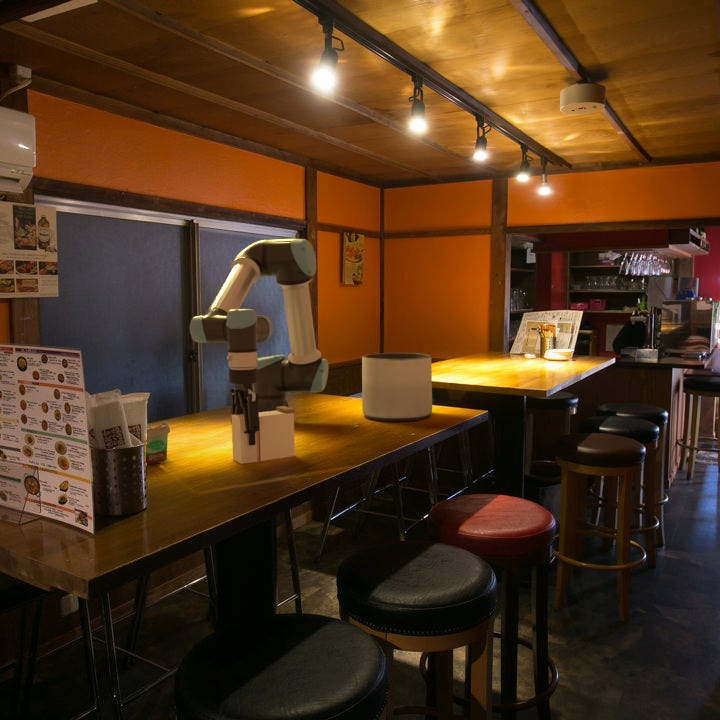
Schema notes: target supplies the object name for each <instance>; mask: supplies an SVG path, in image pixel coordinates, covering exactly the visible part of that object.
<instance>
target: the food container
mask: <svg viewBox="0 0 720 720" xmlns="http://www.w3.org/2000/svg"><path fill="white" fill-rule="evenodd" d="M146 427H147V444H146V463H147V466H146V467H151V466H152V467H153V466H159V465H161V463H160V462H163V461H165V460H167V458H168V457H167V455H168V439H169V437H168V436H169V435H168V434H169V433H171V428H170V425H169V423H168V422H165V421H162V423H161V425H157V426H146Z"/></svg>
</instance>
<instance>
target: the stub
mask: <svg viewBox="0 0 720 720" xmlns="http://www.w3.org/2000/svg"><path fill="white" fill-rule="evenodd" d="M244 431H246V425H245V418H244V414H237V415H232V424H231V434H232V435H231V436H232V437H231V441H232V442H231V443H232V460H234V461H235V462H237V463H239V464H241V465H243V464H249V463H256V462H260V461H259V434H258V431H257V432H256V457H250V458H246V452H245V434H244Z"/></svg>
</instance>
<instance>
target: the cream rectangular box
mask: <svg viewBox="0 0 720 720" xmlns="http://www.w3.org/2000/svg"><path fill="white" fill-rule="evenodd" d="M294 409H295V408H293V407H290V406H289V407H285V406H280V407H276V411H268V412H259V427H260V430H259V431H258V434H259V461H258V462H263V461H264V462H265V461H269V460H270V461H271V460H277V459H283V458H284V459H285V458H289V457H295V456H296V446H295V414H294V412H295V410H294Z"/></svg>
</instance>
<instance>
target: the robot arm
mask: <svg viewBox="0 0 720 720" xmlns="http://www.w3.org/2000/svg"><path fill="white" fill-rule="evenodd" d="M316 257H317V256H316V253H315V250H314V247H313V245H312V243H311V242H310V241H309V240H307V239H305V238H295V237H294V238H281V239H280V238H279V239H277V238H276V239H261V240H258V241H255V242H253V243H251V244H249V245H248V246H247V247H245V248H244V249H242V250H241V251H240V252H239V253H238V254H237V255H236V256H235V257H234V259H233V261H232V263H231V265H230V272H229V274H228V275H227V277H226V279H225V281H224V283H223V284H222V286H221V287H220V290H219V291H218V293H217V294H216V296H215V297H214V299H213V301H212V303H211V305H210V306H209V308H208V310H207V311H206V313H205V314H204V315H202V314H201V315H198V316H197V315H196V316H194V317H192V319H191V320H190V324H189V333H190V336H191V339H192V340H193V341H194V342H196V343H205V344H217V343H218V344H219V343H224V344H225V343H227V354H228V355H227V356H226V360H227V361H228V367H229V368H230V369H229V370H228V383H230V384H231V385H234V388H233V387H232V388H230V390H229V392H230V424H231V425H232V415H237V414H244V418H245V425H246V431H244V434H245V452H246V458H250V457H256V432H257V431H259V430H260V427H259V412H268V411H276V407H280V406H285V407H289V408H290V405H289V403H288V399H287V398H288V397H287V393H310V394H312V393H321V392H322V391H323V390H324V389H325V388H326V385H327V381H328V377H329V376H328V375H329V361H328V360H327V359H326V358H322V353H321V351H320V350H319V349H318V348H317V344H316V337H315V330H314V321H313V314H312V313H313V312H312V304H311V297H310V289H309V288H310V286H309V284H310V282H311V281H312V280H313V276H314V275H315V274H316V272H317V258H316ZM263 277H275V280H276V285H279V286H280V287H281V288H282V290H281V291H282V296H283V303H284V310H285V311H284V312H285V317H286V323H287V331H288V339H289V345H290V353H289V354H288V355H287V356H286V355H285V354H275V355H270V356H269V355H268V356H262V357H258V343H259V344H261V343H263V342H265V341H267V340H269V339H270V338H271V336H272V335H273V332H274V325H273V323H272V321H271V319H270V318H269V317H268V316H265V315H262V314H256V313H257V312H256V310H255V309H252V308H241V306H242V304H243V302H244V301H245V298H246V296H247V295H248V293H249V292H250V289H251V287H252V285H253V284H255V283H257V282H258V281H259V279H260V278H263Z"/></svg>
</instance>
